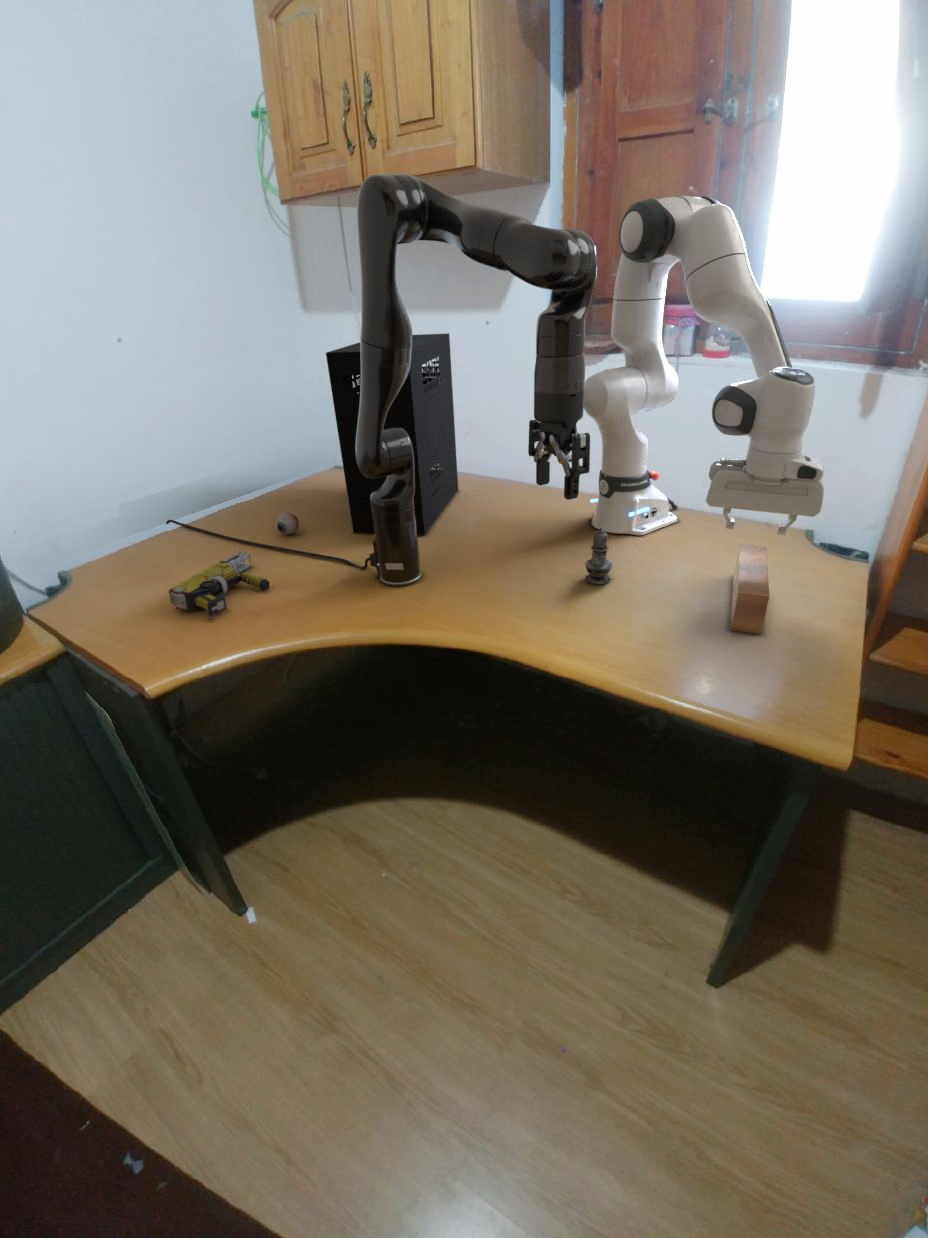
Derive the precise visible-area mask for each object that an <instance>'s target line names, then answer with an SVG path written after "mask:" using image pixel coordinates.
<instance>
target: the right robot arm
mask: <svg viewBox="0 0 928 1238" xmlns="http://www.w3.org/2000/svg"><path fill="white" fill-rule="evenodd" d="M618 231H619V232H618V241H619V247H620V250H621V255H620V258H619V262H618V266H617V270H616V275H615V276H616V277H615V283H614V289H613V298H612V299H613V300H612V313H611V325H610V337H611V340H612V341H613V342H614V344H615V345H617V346H618V347H620V348H621V349H622V351H623V355H624V361H625V363H624V366H621V367H614V368H607V369H604V370H602V371H599V372H597V373H595V374H592V375H590V376H589V377H587V378H586V379H585V386H584V409H583V411H584V412H585V413H586V414H587V416H589V417H590V418H591V419H593V421H594V422H595V423H596V425H597V426H598V430H599V433H600V436H601V437H600V438H601V468H600V470H599V474H598V492H599V493H598V498H591V499H590V500H589V502H590V504H592V503H596V507H595V511H594V514H593V517H592V520H591V525H592V526H593V527H594V528H595V529H597V530H598V531H600V528H601V527H602V529H603V530H602V531H604V532H606V533H611V534H623V535H625V534H626V535H632V536H633V535H634V536H645V535H646V534H650V533H652V532H654V531H657V530H660V529H662V528H665V527H668V526H670V525H672V524H675V523H677V522H678V516H677V515H676V514H675V513H674V512H672V511H670V506H671V508H672V509H674V510H676V509H678V505H677V504H675V502H674V501H673V500H671V499H670V498H669V497H667V496H666V495H665V494H664V493H663V492H661V491H660V490H659V489H658V488H656V487H655V486H654V485H652V483H651V480H653V481H658V479H659V478H660V473H659V472H657V471H654V470H651V471H649V470H648V469H647V466H648V458H649V457H648V456H649V447H650V443H649V439H648V437H647V436H646V435H645V434H644V433H643V432H641V431H640V430H639V429H638V427H637V423H636V415H638V414H642V413H649V412H652V411H657V410H659V409H661V408H662V407H665V406H666V405H669V404H670V403H672V402H673V400H674V399H675V398H676V396H677V394H678V390H679V377H678V374H677V372H676V370H675V368H674V367H673V366H672V365H671V364H670V363H669V362H668V360H667V357H666V354H665V350H664V345H663V344H664V343H663V322H664V311H665V301H666V291H667V281H668V277H669V276H668V275H669V273H670V271H671V269H672V268H673V266H674V265H675V264H677V263H679V264H680V265H681V266H682V273H683V277H684V283H685V284H684V285H685V287H686V293H687V298H688V301H689V304H690V306H691V308H692V311H693V312H694V314H695V315H696V316H697V317H699V318H700V319H701V320H703V321H705V322H706V323H709V324H712V325H716V326H718V327H722V328H724V329H726V330H728V331H731V332H732V333H734V334H736V335H737V336H738V337H740V338H741V339H742V341H743V342H744V344H745V346H746V348H747V350H748V353H749V356H750V359H751V362H752V365H753V368H754V372H755V374H756V377H755V378H751V379H749V380H744V381H739V382H735V383H731V384H729V385H725V386H724V387H722V388H721V389H720V390H719V392H717V395H716V396H715V397H714V400H713V401H712V407H711V419H712V422H713V424H714V426H715V428H716V429H717V430H718V431H719V432H720V433H721V434H722V435H726V436H735V437H736V436H738V437H739V436H745V437H748V438H749V444H748V448H747V453H746V457H745V459H729V458H720V459H719V460H716V461H714V462H713V463H712V464H711V465H710V467H709V472H708V478H709V480H710V483H709V486H708V489H707V494H706V497H705V502H706V504H707V505H708V506H709V507H713V508H722V514H723V517H724V519H725V529H726V530H734V527H735V523H736V518H733V517H731V515H730V514H731V512H732V510H733V509H734V510H742V511H752V512H760V513H773V514H781V515H787V519H786V520H785V521H784V522H783V523H778V525H777V529H776V534H777V535H780V536H786V534H787V531H788V528H789V527H790V526H791V525H792V524H794V523H795V522H796V521H797V518H798V516H799V517H800V516H802V517H811V518H813V517H816V516H817V515H818V514H820V513H821V510H822V507H823V502H824V494H825V487H824V482H823V480H822V479H823V477H824V474H825V468H824V465H823V463H822V461H821V460H819V459H818V458H816V457H813V456H811V455H807V454H805V453H802V449H803V437H804V433H805V431H806V430H807V428H808V426H809V423H810V419H811V415H812V411H813V407H814V401H815V395H816V382H815V378H814V377H813V376H812V375H811V374H810V372H808V371H805V370H804V369H800V368H798V367H797V368H796V367H793V365H792V362H791V359H790V356H789V354H788V350H787V347H786V344H785V342H784V339H783V334H782V332H781V329H780V326H779V323H778V321H777V318H776V315H775V312H774V309H773V308H772V306H771V303H770V302H769V300H768V299H767V297H766V296H765V295H764V294H763V292H762V290H761V289H760V287H759V286H758V284H757V282H756V279H755V276H754V275H753V271H752V269H751V266H750V261H749V257H748V253H747V247H746V243H745V241H744V237H743V234H742V231H741V228H740V226H739V224H738V220H737V219H736V217H735V214H734V212H733V210H732V209H731V208H730V207H729V206H727V205H725V204H722V202H719V200H717V199H715V198H712V197H708V196H699V197H698V196H693V195H692V196H691V195H674V196H669V197H668V196H667V197H659V198H652V197H651V198H646V199H642V200H640V201H636V202H635V203H633V204H632V205H630V206H629V207H628V208H627V210H626V211H625V213H624V215H623V216H622V220H621V221H620V225H619V230H618Z"/></svg>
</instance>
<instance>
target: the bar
mask: <svg viewBox="0 0 928 1238" xmlns="http://www.w3.org/2000/svg"><path fill="white" fill-rule="evenodd" d="M767 551H768V550H767V546H766V545H756V544H745V543H739V544H738V550H737V555H736V559H735V566H734V571H733V576H732V594H731V595H732V596H731V598H732V599H731V615H730V631H735V632H742V633H749V634H755V635H761V634H762V631H763V627H764V622H765V618H766V614H767V609H768V605H769V601H770V583H769V568H768V567H769V565H768V552H767Z"/></svg>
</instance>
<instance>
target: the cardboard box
mask: <svg viewBox="0 0 928 1238" xmlns="http://www.w3.org/2000/svg"><path fill="white" fill-rule="evenodd" d="M450 342H451V340H450V333H429V334H428V333H424V334H423V333H422V334H412V352H411V364H410V370H409V373H408V376H407V378H406V380H405V382H404V384H403V386H402V387H401V389H400V391H399V393H398V394H397V396H396V398H395V399H394V401H393V403H392V404H391V406H390V408H389V410H388V413H387V416H386V419H385V423H384V429H385V428H390V427H401V428H403V429H404V430H405V431H406V432H407V434H408V435H409V437H410V440H411V443H412V447H413V454H414V475H415V493H414V509H415V519H416V529H417V536H426V534H428V532H429V531H430V529H431V528H432V526H433V525H434V524H435V522H436V521H437V520H438V519H439V517H440V515H441V514H442V513H443V512H444V510H445V509H446V507H447V506H448V505H449V503H450V502H451V501H452V500H453V498H454V497H455V495H456V494H457V493H458V491H459V481H458V480H459V479H458V461H457V446H456V444H457V443H456V427H455V409H454V407H455V406H454V393H453V392H454V390H453V375H452V357H451V343H450ZM325 356H326V362H327V364H326V365H327V370H328V374H329V383H330V390H331V396H332V402H333V409H334V415H335V421H336V428H337V429H336V430H337V435H338V441H339V448H340V454H341V455H340V456H341V461H342V469H343V474H344V482H345V487H346V493H347V499H348V508H349V513H350V514H349V515H350V520H351V526H352V527H351V528H352V532H353V533H355V534H356V533H357V534H375V531H374V524H373V517H372V509H371V502H370V496H371V494H372V492H373V491H374V490H376V489H377V488H378V487H379V486H381V485H382V483H383V482H384V481H385V479H386V478H387V476H385V477H381V478H376V479H369V478H366V477H365V476H364V475H363V474H362V473H361V472H360V470H359V467H358V464H357V460H356V452H355V444H356V432H357V423H358V414H359V404H360V380H361V363H360V342H359V341H358V342H355V343H353V344H350V345H347V346H343V347H339V348H337V349H333V350H330V351H327V352H325ZM433 360H434V361H433ZM423 365H425V366H423Z"/></svg>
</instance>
